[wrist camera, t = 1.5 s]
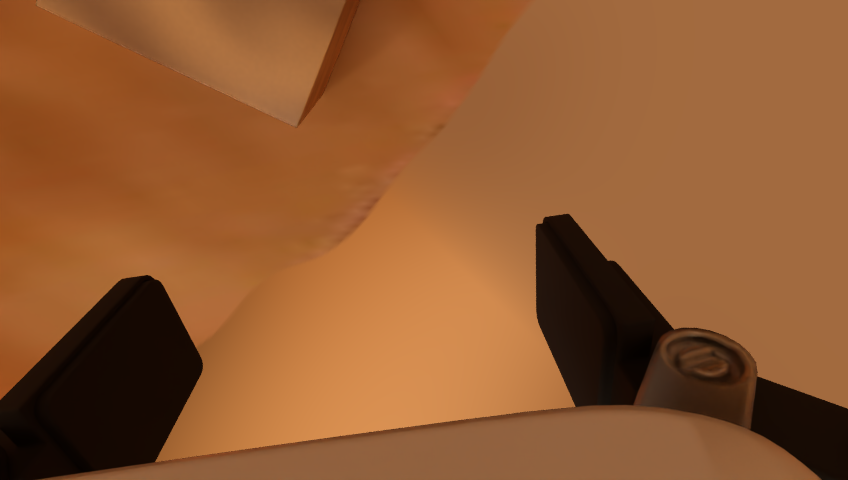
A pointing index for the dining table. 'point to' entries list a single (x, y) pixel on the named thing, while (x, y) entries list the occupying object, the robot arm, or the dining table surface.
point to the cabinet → (229, 43)
